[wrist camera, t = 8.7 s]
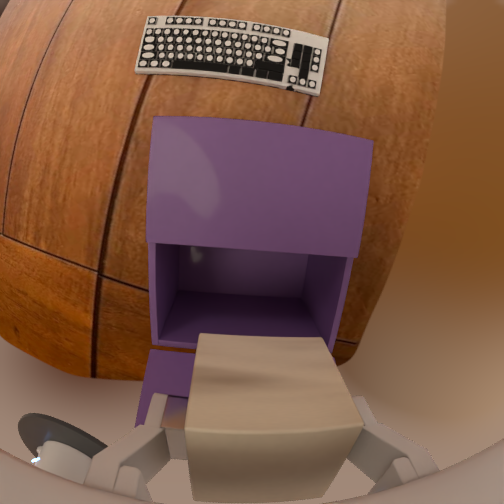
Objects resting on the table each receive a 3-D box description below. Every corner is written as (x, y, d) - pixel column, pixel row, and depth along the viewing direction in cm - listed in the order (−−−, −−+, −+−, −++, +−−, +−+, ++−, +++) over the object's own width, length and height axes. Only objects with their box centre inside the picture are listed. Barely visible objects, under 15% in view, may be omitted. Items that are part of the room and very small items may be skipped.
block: (301, 417, 12) (322, 498, 7) (199, 415, 11) (193, 501, 7) (322, 336, 10) (366, 424, 6) (199, 331, 10) (183, 428, 6)
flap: (334, 357, 20) (333, 359, 20) (150, 348, 19) (151, 351, 19) (354, 450, 14) (352, 452, 14) (131, 447, 13) (132, 449, 13)
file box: (304, 300, 30) (334, 358, 20) (174, 292, 28) (149, 350, 19) (324, 148, 26) (374, 139, 16) (182, 134, 24) (152, 114, 15)
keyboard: (135, 74, 22) (130, 69, 21) (151, 20, 21) (147, 14, 19) (317, 97, 24) (322, 93, 23) (324, 42, 23) (329, 36, 21)
